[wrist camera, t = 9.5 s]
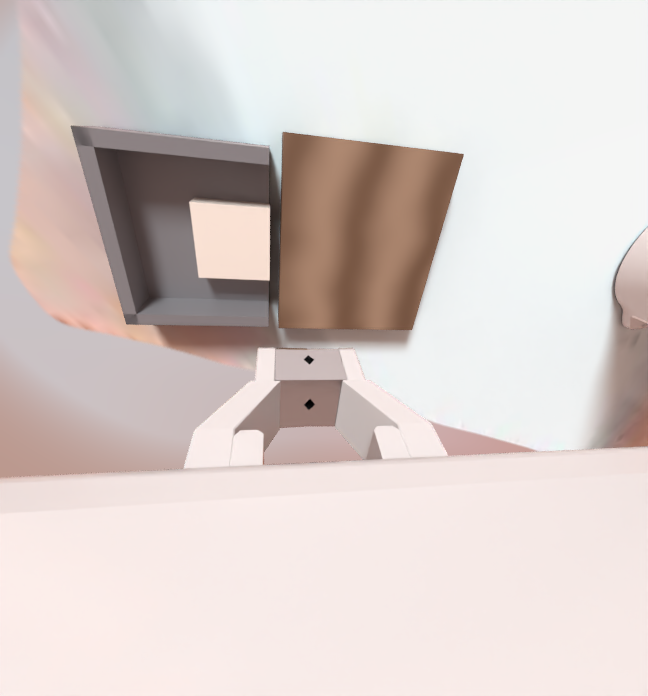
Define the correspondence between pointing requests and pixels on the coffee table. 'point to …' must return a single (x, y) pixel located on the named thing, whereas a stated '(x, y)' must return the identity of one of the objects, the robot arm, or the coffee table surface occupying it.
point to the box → (170, 221)
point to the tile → (231, 238)
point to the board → (358, 231)
